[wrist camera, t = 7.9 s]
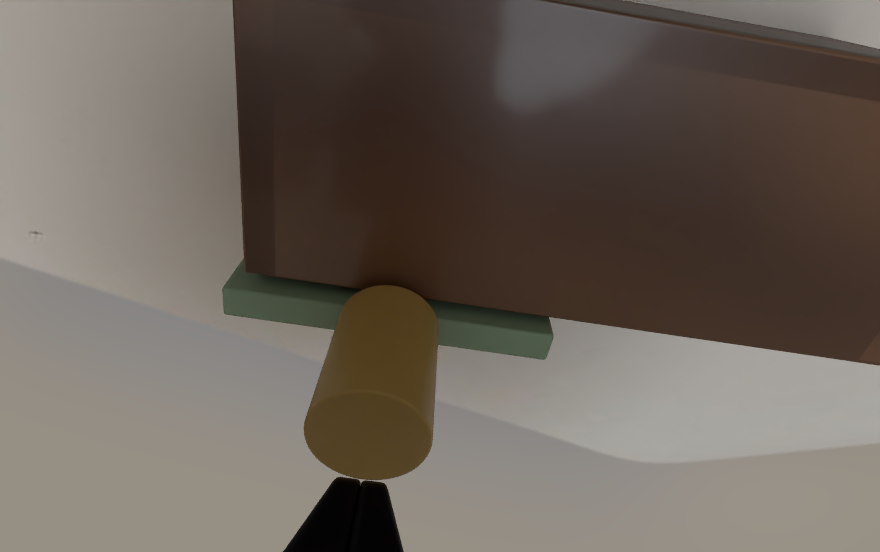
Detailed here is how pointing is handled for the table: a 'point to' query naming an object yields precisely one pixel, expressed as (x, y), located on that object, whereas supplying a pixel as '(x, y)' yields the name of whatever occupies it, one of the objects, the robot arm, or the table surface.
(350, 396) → the sliding door
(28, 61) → the table surface
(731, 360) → the table surface
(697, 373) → the table surface
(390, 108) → the cupboard
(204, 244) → the table surface
